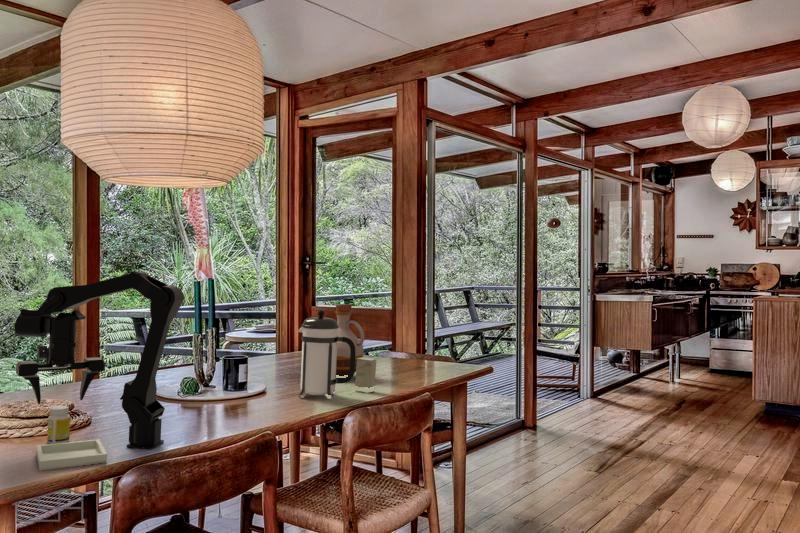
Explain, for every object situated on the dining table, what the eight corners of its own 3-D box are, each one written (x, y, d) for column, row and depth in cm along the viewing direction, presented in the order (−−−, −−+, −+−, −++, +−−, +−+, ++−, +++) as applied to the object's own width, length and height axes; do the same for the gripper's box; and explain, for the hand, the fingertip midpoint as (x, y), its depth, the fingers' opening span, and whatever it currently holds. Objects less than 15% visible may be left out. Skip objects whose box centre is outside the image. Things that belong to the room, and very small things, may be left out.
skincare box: (354, 391, 233) (355, 358, 233) (360, 389, 237) (361, 357, 237) (369, 393, 230) (371, 360, 230) (375, 391, 234) (376, 358, 234)
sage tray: (98, 447, 152) (99, 439, 152) (106, 463, 141) (106, 454, 141) (36, 454, 145) (36, 445, 145) (39, 470, 134) (39, 461, 134)
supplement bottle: (72, 439, 158) (74, 405, 158) (63, 444, 153) (64, 409, 153) (53, 438, 158) (54, 405, 158) (43, 444, 153) (44, 409, 153)
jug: (374, 378, 262) (377, 305, 262) (348, 384, 247) (351, 306, 247) (336, 372, 273) (339, 302, 273) (309, 377, 257) (312, 303, 257)
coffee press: (312, 403, 210) (315, 312, 210) (287, 394, 223) (291, 308, 223) (355, 398, 221) (358, 311, 221) (329, 390, 234) (333, 308, 234)
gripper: (96, 333, 168) (94, 392, 168) (14, 335, 157) (11, 399, 157) (106, 337, 159) (104, 400, 159) (20, 340, 148) (17, 408, 148)
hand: (60, 401), depth 156 cm, fingers open, 9 cm apart
